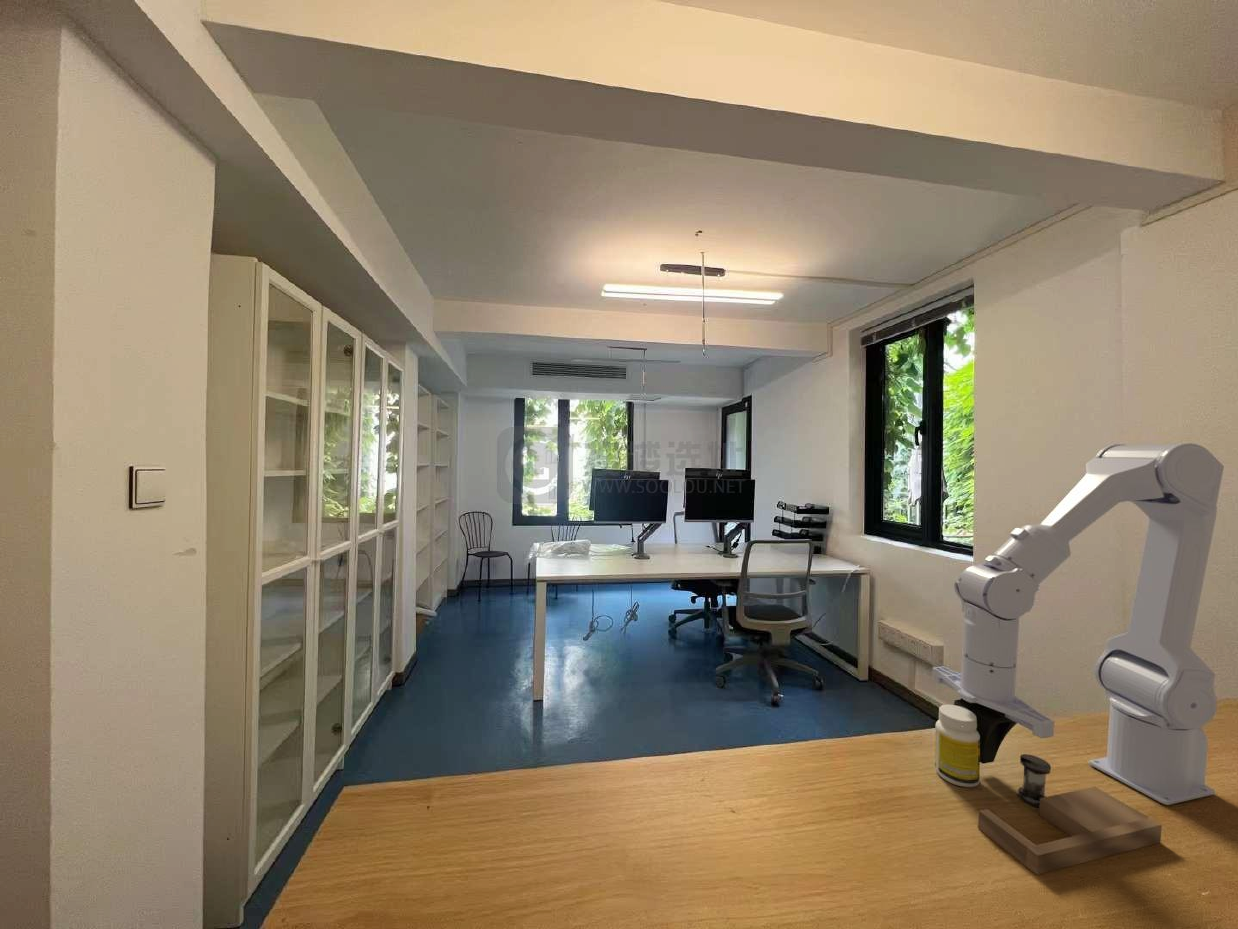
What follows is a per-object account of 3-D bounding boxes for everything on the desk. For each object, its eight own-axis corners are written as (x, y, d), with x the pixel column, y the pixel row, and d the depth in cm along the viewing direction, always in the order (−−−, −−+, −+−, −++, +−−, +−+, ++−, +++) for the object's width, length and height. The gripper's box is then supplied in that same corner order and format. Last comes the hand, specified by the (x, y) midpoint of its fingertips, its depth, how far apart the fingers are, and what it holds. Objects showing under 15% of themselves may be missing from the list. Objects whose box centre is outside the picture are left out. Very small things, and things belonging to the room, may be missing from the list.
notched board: (1093, 803, 58) (1094, 786, 58) (1160, 842, 52) (1161, 824, 52) (977, 828, 53) (978, 811, 53) (1036, 875, 48) (1037, 855, 48)
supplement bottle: (987, 791, 59) (988, 725, 59) (945, 786, 60) (946, 721, 60) (967, 765, 64) (968, 704, 64) (928, 761, 65) (929, 701, 65)
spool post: (1029, 790, 60) (1031, 753, 60) (1054, 806, 57) (1056, 767, 57) (1012, 793, 59) (1014, 755, 59) (1037, 810, 56) (1039, 770, 56)
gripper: (916, 639, 69) (912, 731, 69) (1025, 688, 55) (1018, 804, 55) (955, 635, 71) (950, 725, 71) (1069, 682, 57) (1063, 794, 57)
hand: (983, 759), depth 63 cm, fingers closed
